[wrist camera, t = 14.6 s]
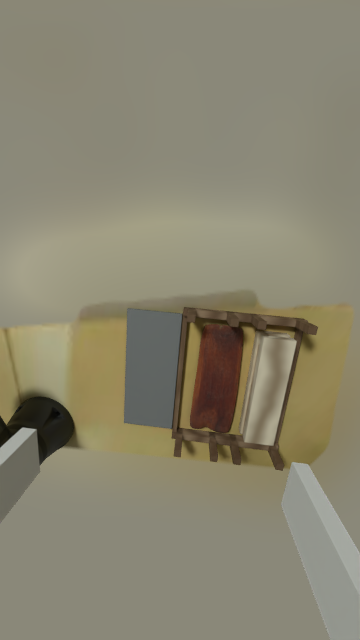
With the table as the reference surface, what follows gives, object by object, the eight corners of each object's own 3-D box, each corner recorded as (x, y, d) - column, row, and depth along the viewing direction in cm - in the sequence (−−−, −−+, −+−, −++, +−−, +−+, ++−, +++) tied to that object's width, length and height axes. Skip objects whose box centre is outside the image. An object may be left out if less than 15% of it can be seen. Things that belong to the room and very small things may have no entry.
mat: (124, 421, 54) (124, 422, 53) (128, 308, 47) (127, 308, 47) (172, 427, 53) (171, 428, 53) (182, 313, 47) (182, 314, 46)
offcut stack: (238, 428, 52) (243, 445, 47) (255, 330, 46) (263, 337, 41) (265, 431, 52) (273, 449, 47) (286, 333, 46) (298, 341, 41)
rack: (172, 432, 54) (169, 455, 47) (184, 307, 46) (182, 313, 39) (274, 445, 52) (286, 471, 46) (303, 318, 45) (322, 327, 38)
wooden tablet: (229, 431, 52) (230, 436, 51) (188, 425, 53) (188, 430, 51) (248, 327, 46) (250, 329, 45) (202, 322, 47) (202, 323, 45)
